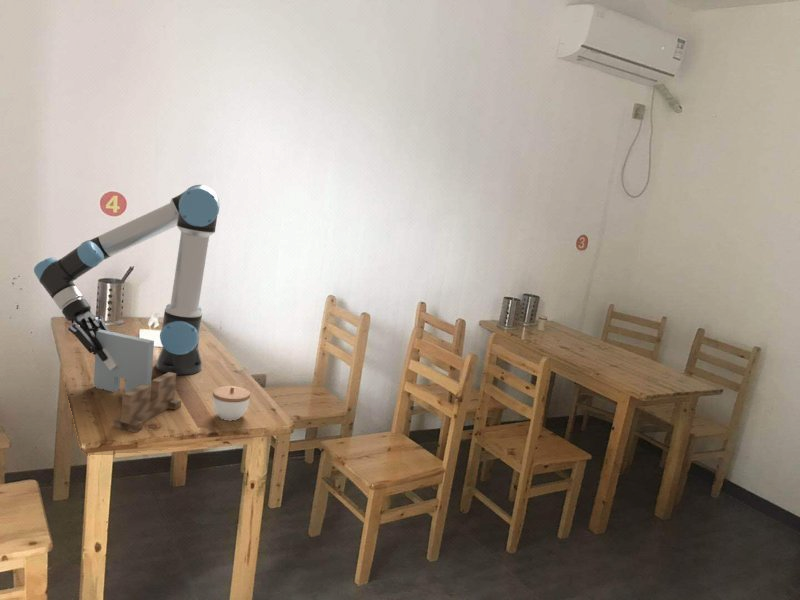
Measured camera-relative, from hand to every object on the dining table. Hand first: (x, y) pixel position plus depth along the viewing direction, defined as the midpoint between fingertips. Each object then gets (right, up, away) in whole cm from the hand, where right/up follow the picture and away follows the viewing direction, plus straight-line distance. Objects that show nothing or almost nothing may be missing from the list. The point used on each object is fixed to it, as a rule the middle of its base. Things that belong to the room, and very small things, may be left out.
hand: (117, 366), depth 199 cm
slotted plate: (+1, -8, +1) cm, 8 cm away
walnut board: (+15, -13, -13) cm, 24 cm away
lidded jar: (+36, -15, -5) cm, 39 cm away
